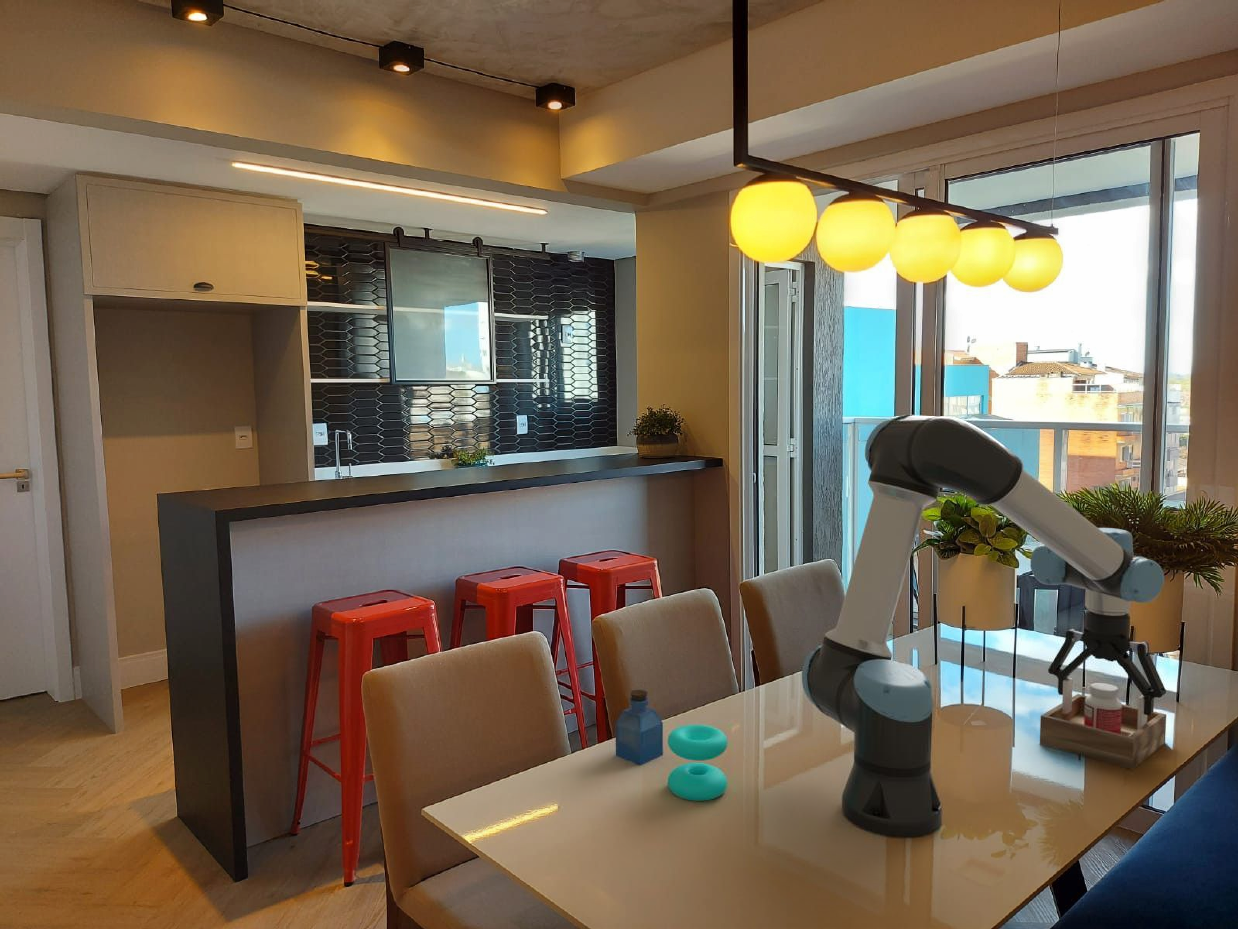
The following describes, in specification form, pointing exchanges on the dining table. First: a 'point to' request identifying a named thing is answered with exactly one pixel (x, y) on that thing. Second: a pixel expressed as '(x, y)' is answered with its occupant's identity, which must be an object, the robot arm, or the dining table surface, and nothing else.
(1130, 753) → the wooden box
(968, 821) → the dining table surface
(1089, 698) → the pill bottle
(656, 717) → the perfume bottle
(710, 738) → the donuts
